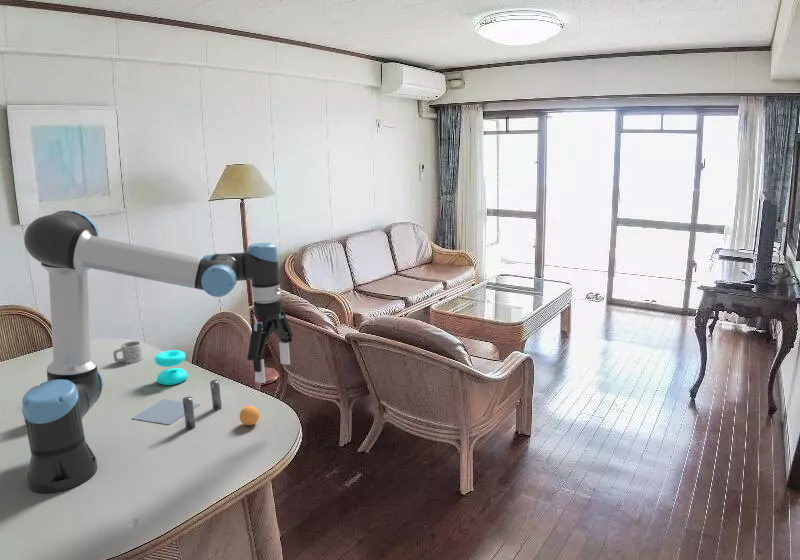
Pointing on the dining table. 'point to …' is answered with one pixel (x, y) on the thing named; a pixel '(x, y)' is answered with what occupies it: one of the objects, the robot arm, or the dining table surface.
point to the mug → (130, 352)
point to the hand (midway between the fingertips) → (273, 372)
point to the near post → (189, 412)
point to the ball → (249, 415)
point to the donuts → (172, 374)
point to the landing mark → (163, 412)
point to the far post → (215, 394)
